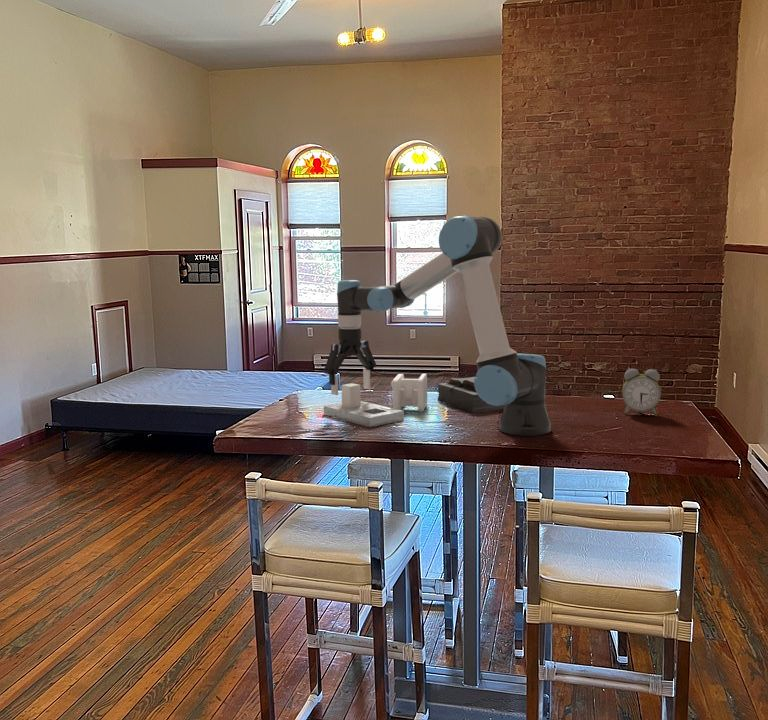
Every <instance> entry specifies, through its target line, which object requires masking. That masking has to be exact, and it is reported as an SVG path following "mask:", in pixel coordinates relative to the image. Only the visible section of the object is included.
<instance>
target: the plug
mask: <svg viewBox="0 0 768 720" xmlns="http://www.w3.org/2000/svg"><path fill="white" fill-rule="evenodd" d="M361 399H362V397H361V384H358V383H352V382H351V383H346V384H342V385H341V403H342V407H346V408H355V407H360V406H361V401H362V400H361Z"/></svg>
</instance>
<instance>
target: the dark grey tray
mask: <svg viewBox="0 0 768 720" xmlns="http://www.w3.org/2000/svg"><path fill="white" fill-rule="evenodd" d="M474 378H475V376H471V377H463V378H462V377H459V378H449V379H448V380H449V381H448V382H442V383H441V382H440V383H437V391H438V396H437V401H438V402H442V403H445V404H448V405H450V406H453V407H456V408H459V409H462V410H464V411H467V412H470V413H475V414H476V413H482V412H493V411H500V410H504V407H505V405H499V406H495V405H490V404H488V403H486V402H485V401H483V400H482V399H481V398H480V397H479V395H478V394H477V392H476V390H475V386H474Z"/></svg>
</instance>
